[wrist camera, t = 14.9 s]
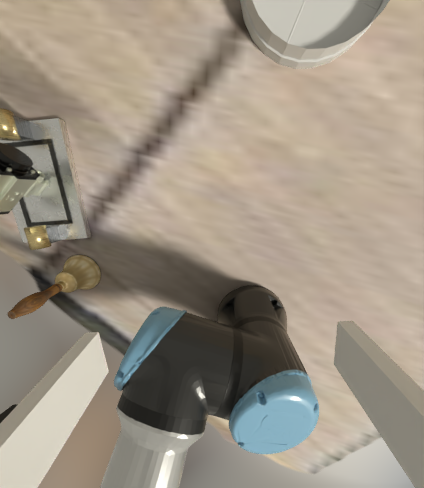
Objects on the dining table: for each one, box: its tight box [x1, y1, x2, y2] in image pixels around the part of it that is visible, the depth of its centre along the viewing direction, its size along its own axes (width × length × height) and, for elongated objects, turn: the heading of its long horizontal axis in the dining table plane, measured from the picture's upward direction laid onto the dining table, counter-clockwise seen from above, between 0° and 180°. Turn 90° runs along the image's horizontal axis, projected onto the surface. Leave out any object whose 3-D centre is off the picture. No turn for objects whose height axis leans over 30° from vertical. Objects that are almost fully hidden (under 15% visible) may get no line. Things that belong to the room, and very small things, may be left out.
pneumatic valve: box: [0, 143, 49, 214], centre depth 33 cm, size 6×12×12 cm, turn 132°
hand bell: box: [8, 255, 101, 319], centre depth 38 cm, size 8×8×16 cm
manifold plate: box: [0, 108, 92, 250], centre depth 37 cm, size 23×14×7 cm, turn 4°
